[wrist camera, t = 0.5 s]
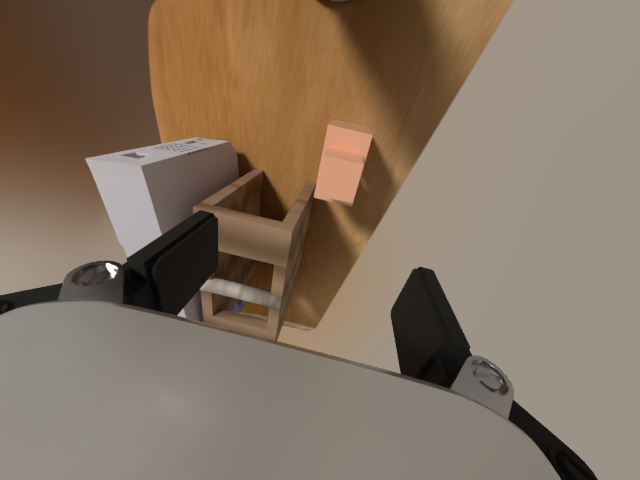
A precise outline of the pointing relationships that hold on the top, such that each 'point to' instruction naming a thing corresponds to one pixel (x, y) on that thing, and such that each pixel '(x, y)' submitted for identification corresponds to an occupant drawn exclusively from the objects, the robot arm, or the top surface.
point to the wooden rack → (253, 255)
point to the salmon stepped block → (342, 162)
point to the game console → (162, 190)
